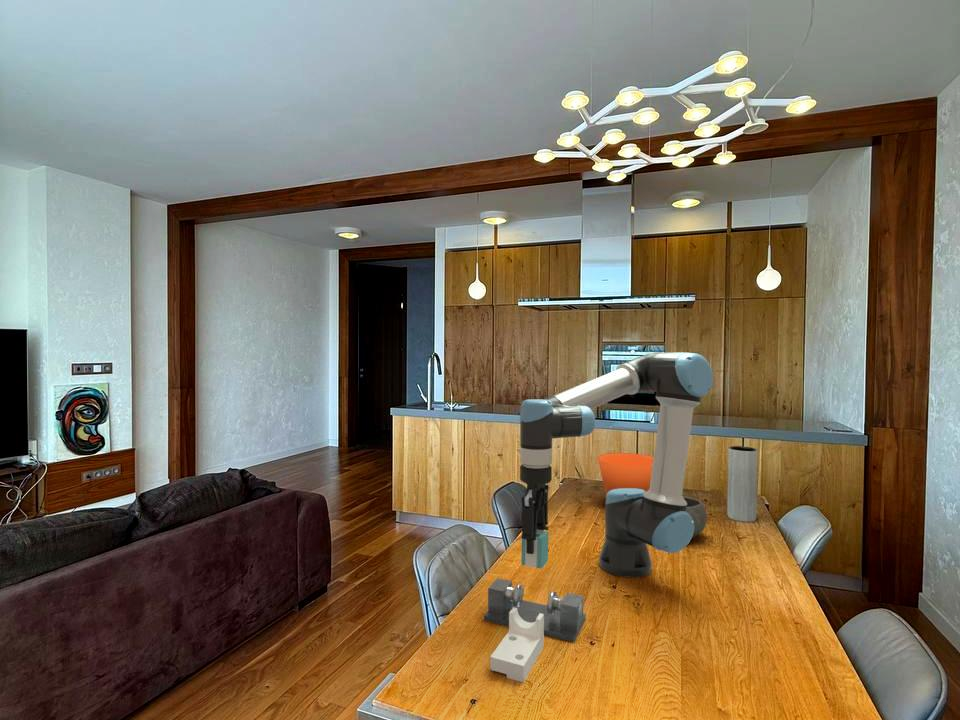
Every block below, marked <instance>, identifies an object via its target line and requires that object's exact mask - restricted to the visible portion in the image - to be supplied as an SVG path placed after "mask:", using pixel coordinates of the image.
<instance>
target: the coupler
mask: <svg viewBox="0 0 960 720" xmlns="http://www.w3.org/2000/svg"><path fill="white" fill-rule="evenodd" d="M536 539H537V567H536V568H535V569H543V568H544V566H545V565H547V563H548V561H549V531H547V530H544V531H543V530H539V529H537V531H536ZM520 553H521V556H520V557H521V558H520V559H521V565H522V566H525V539H522V538H521V552H520Z"/></svg>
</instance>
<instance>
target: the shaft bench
mask: <svg viewBox="0 0 960 720" xmlns="http://www.w3.org/2000/svg"><path fill="white" fill-rule="evenodd" d="M524 589H525V588H524V585H523V584H521V583H517V584H516V585H515V587H513V581H512V580H509V579H503V578H499V577H497V578H496V579H495V580H494V581H493V582H492V583H491V585H489V586H488V588H487V610H486V612H485V613H484V614H483V621H485V622H489V623H493V622H494V623H493V624H497V623H498V624H497V625H501V624H502V626H505V627H506V626H507V627H509V612H510V611H511V610H512V608H513V607H514V608H517V610H518V614H519V616H520V617H521V618H522V619H523V620H524V621H526V622H529V623H532V622H535V621H536V618H537V617H538V615H539V614H540V613H541V614H544V636H547V637H551V638H555V639H559V640H562V641H567V642H571V643H576V641H577V638H578V636H579V634H580V632H581V630H582V627H583V625H584V623H585V622H586V619H587V617H586V616H587V614H586V613H584V604H585V603H584V599H585V597H584V595H582V594H576V593H572V592H571V593H570V592H566V594H565V595H564V597H560V596H558V593H557V591H555V590H554V591H553V590H551V591H550V592H549V594H548V597H547V603H546V604H542V603H538V602H535V601H534V602H533V601H529V600H525V599H524V594H525V591H524Z"/></svg>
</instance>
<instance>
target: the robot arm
mask: <svg viewBox="0 0 960 720" xmlns="http://www.w3.org/2000/svg"><path fill="white" fill-rule="evenodd" d="M713 383H714V374H713V370H712V367H711V365H710V364H709V362H708V360H707V359H706V358H705V357H704V356H703V355H701V354H699V353H695V352H684V351H683V352H675V351H674V352H662V351H659V352H657V351H655V352H650V353H647V354H644V355H641V356H637V357H635V358H633V359H631V360H628V361H626V362H623V363H620V364H619V365H617V367H616V369H615V370H613V371H610V372H608V373H606V374H603V375H601V376H598V377H596V378H593V379H591V380H589V381H587V382H584V383H582V384H578V385H576V386H574V387H571V388H570V389H566V390H564V391H563V392H560V393H557V394H554V395H552V396H550V397H547V398H546V397H545V398H544V399H541V398H538V399H535V398H532V399H531V398H529V399H524V400H523V401H522V402H521V405H520V412H519V413H520V415H519V422H520V423H519V424H520V426H519V428H520V429H519V431H520V432H519V433H520V437H519V442H520V443H519V444H520V448H519V449H518V454H519V455H520V456H519V457H520V459H519V460H520V461H519V462H520V464H521V465H520V466H519V480H520V481H521V482H522V483H525V484H526V489H525V491H524V496H522V497H521V498H520V499H521V506H522V507H521V510H522V511H521V513H522V514H521V517H522V518H521V520H522V521H521V540H522V539H525V565H524V566H525V567H530V568H535V569H537V568H536V567H537V539H536V531H537V529H539V530H543V531H549V528H550V527H549V526H548V524H549V522H548V518H549V516H548V515H549V512H548V511H549V508H548V507H549V505H548V504H549V502H548V501H549V488H550V487H549V484H550V483H551V482H552V476H553V475H552V472H553V470H552V469H553V468H552V466H551V465H552V463H553V439H564V438H574V437H575V438H576V437H577V438H580V437H583V436H589V435H590V434H592V433H593V431H594V429H595V427H596V417H595V414H594V412H593V409H595V408H597V407H599V406H602V405H604V404H606V403H608V402H611V401H613V400H615V399H618V398H620V397H623V396H625V395H630V396H632V395H636V394H638V393H642V392H656V393H655V399H656V400H657V402H659V404H660V405H659V415H658V422H657V431H656V435H655V436H656V438H655V445H654V453H653V457H654V458H653V466H652V473H651V481H650V489H649V490H648V491H647V492H646V491H645V490H642V489H635V488H621V489H613V490H610V491H609V492H608V493H607V495H606V494H605V502H604V503H605V506H604V507H605V508H604V510H605V512H604V513H605V517H604V518H605V539H604V542H603V545H602V548H601V550H600V554H599V557H598V564H599V567H600V568H601V569H602V570H603V571H605V572H607V573H609V574H611V575H614V576H619V577H623V578H641V577H645V576H648V575H650V574H651V573H652V569H653V566H652V565H653V563H652V559H651V555H650V552H649V550H648V546H650V547H653V548H654V549H656V550H658V551H662V552H665V553H668V554H676V553H677V554H678V553H679V552H681V551H683V550H684V549H685V548H686V547H687V546H688V544H689V543H690V542H691V540H692V538H693V537H692V536H693V533H694V521H693V520H692V517H691V516H690V515H689V514H688V513H687V512H686V510H687V502H686V501H685V500H684V498H683V497H684V496H683V493H684V485H685V477H686V469H687V462H688V453H689V446H690V439H691V437H690V436H691V431H692V423H693V416H694V415H693V414H694V409H695V408H697V407H698V406H700V404H701V399H702V397H704V396H706V395H707V394H709V392H710V391H711V389H712V387H713Z"/></svg>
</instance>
